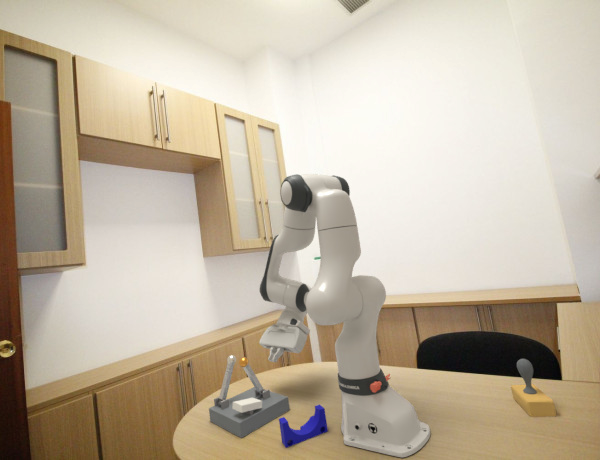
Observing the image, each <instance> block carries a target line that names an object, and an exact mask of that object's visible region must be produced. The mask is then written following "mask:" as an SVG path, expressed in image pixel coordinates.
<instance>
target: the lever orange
mask: <svg viewBox="0 0 600 460" xmlns="http://www.w3.org/2000/svg"><path fill="white" fill-rule="evenodd" d="M238 365H239V366H240V367H242V369H243V370H244V372H245V373H246V375H247V377H248V378H249V380H250V382H251V383H252V386H253V387H255V388H256V390H257V392H258V395H260V396H263V393H262V392H264V387H263V385H262V384H261V382H260V380H259V379H258V377H257V376H256V373H255V372H254V370H253V369H252V367H251V365H250V364H249V359H248V358H247V357H245V356H243V357H241V358H239V360H238Z"/></svg>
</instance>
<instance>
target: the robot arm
mask: <svg viewBox="0 0 600 460" xmlns="http://www.w3.org/2000/svg"><path fill="white" fill-rule="evenodd" d="M350 193H351V191H350V186H349V183H348V182H347V180H346V179H345V178H344V177H341V176H338V175H328V174H318V173H307V174H291V175H288V176H286V177H285V178H284V179H283V181H282V183H281V184H280V193H279V194H280V200H281V202H282V204H283V206H284V212H283V217H282V227H281V231H280V232H279V233H278V234H277V235H275V236H274V237H273V239H272V241H271V244H270V247H269V252H268V256H267V261H266V265H265V270H264V274H263V276H262V279H261V282H260V284H259V293H260V296H261V297H262V299H263V300H264V301H265V302H269V303H273V304H277V305H280V306H284V309H283V310H282V312H281V313H280V315H279V318H278V320H277V322H276V323H273V324H272V325H269V326H268V327H267V328H266V330H264V332H263V334H262V336H261V337H260V338H259V345H260V346H261V347H262V348H264V349H268V350H269V356H268V358H267V360H268V361H269V362H270V363H277V362H278V360H279V359H280V357H281V356H282V355H284V353H285V352H287V353H288V352H289V353H294V354H300V353H301V352H302V351H303V349H304V347H305V345H306V342H307V340H308V336H309V334H310V332H311V329H310V328H309V327H308V326H306V324H304V321H305V317H307V316H306V315H307V314H308V316H309V318H310V319H311V320H312V321H313V322H314V324H316V325H319V326H335V325H339V324H342V323H343V325H342V328H341V332H340V334H339V336H338V337H337V338H336V340H335V343H334V351H335V356H336V357H335V358H336V365H337V384H338V388H339V390H340V394H341V410H342V411H341V415H342V416H341V427H340V430H341V433H342V434H343V444H344V445H346V446H350V447H355V448H358V449H359V448H360V449H362V450H367V451H371V452H376V453H379V454H384V455H387V456H388V455H389V456H392V457H398V458H407V457H409V456H411V455H412V456H413V454H415V453H417V452H418V451H420V450H421V449H422V448H423V447H424V446H425V444H426V443H428V441H429V439H430V437H431V429H430V426H429V424H428V423H425V422H423V421H421V420H419V417H418V414H417V412H416V409H415V407H414V405H413V404H412V403H411V402H410V401H409V400H407V399H406V398H405V397H404V396H403V395H401V394H400V393H399V392H398V391H396V389H394V388H393V387H391V386H390V385H389V380H390V379H391V377H390V376H391V374H390V373H388V374H387V375H385V373H384V371H383V370H382V367H380V361H379V353H378V345H377V329H378V321H379V317H380V312H381V310H382V307H383V305H384V304H385V302H386V299H387V291H386V288H385V285H384V284H383V282H382V281H381V279H379V278H378V277H376V276H373V275H363V274H362V275H356V276H355V275H354V276H353V271H354V267H355V265H356V262H357V261H358V260H359V259H360V257H361V254H362V248H361V242H360V236H359V228H358V222H357V218H356V214H355V209H354V207H353V206H354V205H353V203H352V200H351V197H350ZM316 229H317V236H318V243H319V254H320V256H319V257H320V261H319V262H320V264H319V268H318V270H319V271H318V274H317V277H316V279H315V282H314V283H313V286H312V287H311V286H309V285H308V284H306V283H304V282H301V281H298V280H295V279H291V278H287V277H283V276H281V275H280V273H279V271H280V266H281V264H282V263H281V262H282V259H283V256H284V254H287V253H293V252H294V253H295V252H299V251H302V250H304V249H307V247H309V246H310V245H311V244H312V242H313V241H314V238H315V233H316Z"/></svg>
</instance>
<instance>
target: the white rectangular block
mask: <svg viewBox="0 0 600 460" xmlns="http://www.w3.org/2000/svg"><path fill="white" fill-rule="evenodd" d="M259 408H262V401H261V400H258V399H255V398H248V399H244V400H239V401H235V402H233V408H232V409H234V410H237V411H239V412H241V413H243V412H247V411H251V410H255V409H259Z"/></svg>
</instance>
